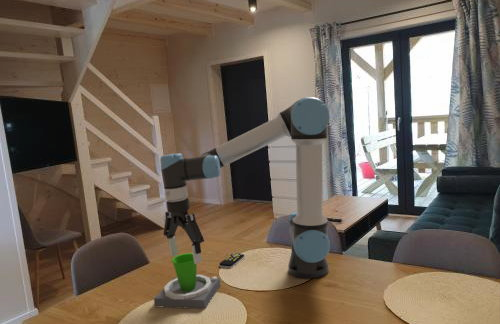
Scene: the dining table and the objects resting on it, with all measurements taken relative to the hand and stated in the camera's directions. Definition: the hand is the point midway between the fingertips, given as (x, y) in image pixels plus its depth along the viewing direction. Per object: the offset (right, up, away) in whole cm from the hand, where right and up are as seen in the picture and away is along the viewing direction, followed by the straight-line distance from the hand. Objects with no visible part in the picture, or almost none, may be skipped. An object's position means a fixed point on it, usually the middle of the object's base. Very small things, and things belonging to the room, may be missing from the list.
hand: (185, 258), depth 127 cm
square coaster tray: (+1, -14, +2) cm, 14 cm away
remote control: (+15, -9, +29) cm, 34 cm away
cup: (+1, -11, +1) cm, 11 cm away
